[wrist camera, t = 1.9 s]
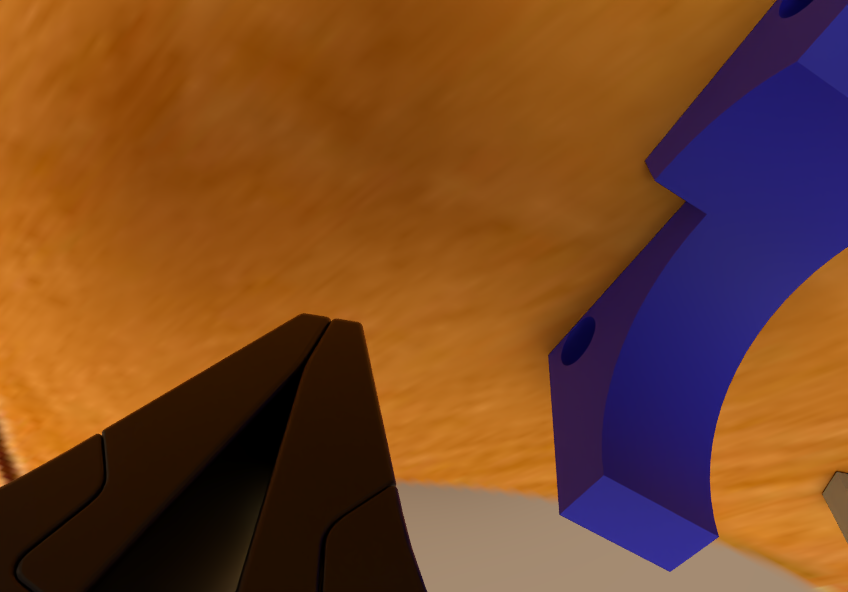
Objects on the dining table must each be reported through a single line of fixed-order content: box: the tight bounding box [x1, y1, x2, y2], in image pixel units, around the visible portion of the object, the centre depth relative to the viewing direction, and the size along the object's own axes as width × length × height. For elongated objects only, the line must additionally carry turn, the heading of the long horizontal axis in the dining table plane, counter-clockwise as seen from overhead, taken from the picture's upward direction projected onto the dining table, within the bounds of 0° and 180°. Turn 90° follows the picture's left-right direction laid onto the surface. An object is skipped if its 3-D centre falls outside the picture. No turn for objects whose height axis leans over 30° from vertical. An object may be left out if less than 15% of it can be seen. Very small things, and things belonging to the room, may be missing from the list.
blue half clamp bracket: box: [548, 0, 848, 572], centre depth 14 cm, size 12×4×6 cm, turn 150°
